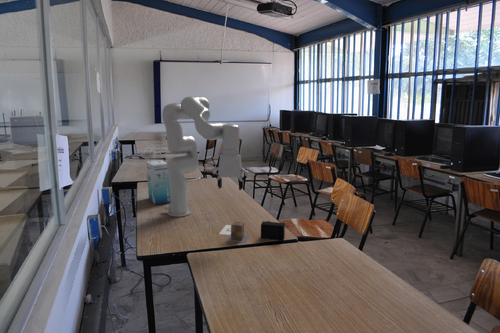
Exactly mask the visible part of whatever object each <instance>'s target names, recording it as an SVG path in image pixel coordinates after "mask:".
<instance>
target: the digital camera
mask: <svg viewBox="0 0 500 333" xmlns="http://www.w3.org/2000/svg"><path fill="white" fill-rule="evenodd" d="M285 228H286V223H285V222H274V221H270V220H267V221H264V220H263V221H262V222H261V224H260V239H266V240H267V239H268V240H271V241H272V240H273V241H282V242H283V241H284V239H285V236H286V235H285V234H286V233H285Z"/></svg>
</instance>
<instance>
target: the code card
mask: <svg viewBox="0 0 500 333" xmlns="http://www.w3.org/2000/svg"><path fill="white" fill-rule="evenodd" d="M230 234H231V224H225V225H224V227H223V228H222V229H221V231H220V232H219V233H218V235H227V236H230Z"/></svg>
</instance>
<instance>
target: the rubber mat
mask: <svg viewBox="0 0 500 333" xmlns="http://www.w3.org/2000/svg"><path fill="white" fill-rule="evenodd" d="M249 237H250V235H249V234H244V238H243V240H231V234H230V235H228V237H227V239H226V240H225V242H227V243H228V242H229V243H242V244H243V243H245V244H246V243H247V241H248V239H249Z"/></svg>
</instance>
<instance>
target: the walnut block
mask: <svg viewBox="0 0 500 333" xmlns="http://www.w3.org/2000/svg"><path fill="white" fill-rule="evenodd" d="M230 225H231V240H243V238H244V235H245V221H235V220H234V221H232V223H231V224H230Z"/></svg>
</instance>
